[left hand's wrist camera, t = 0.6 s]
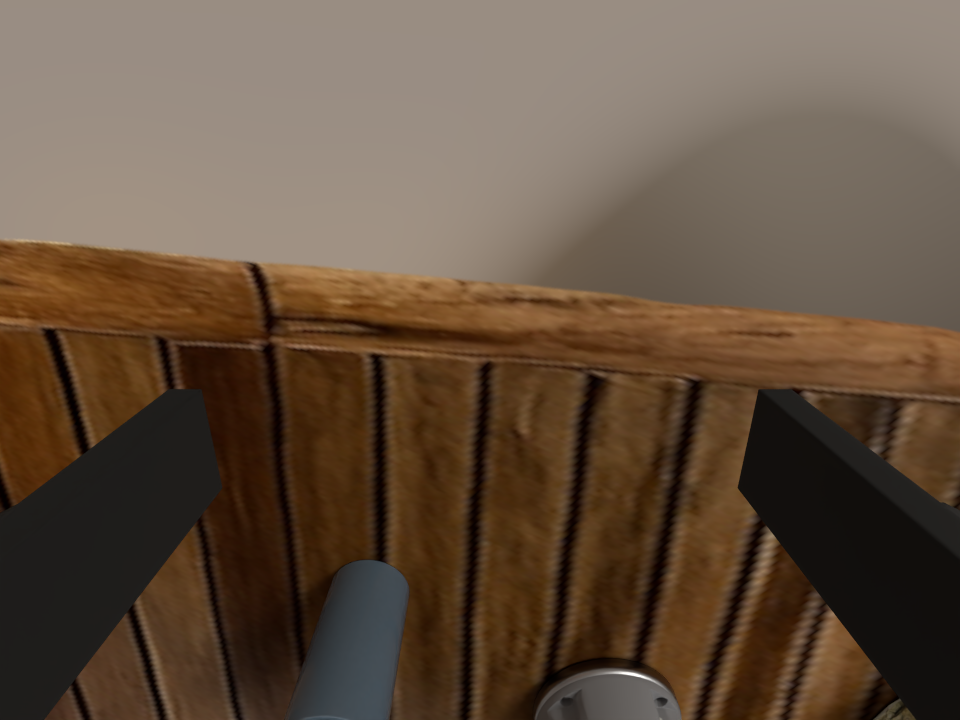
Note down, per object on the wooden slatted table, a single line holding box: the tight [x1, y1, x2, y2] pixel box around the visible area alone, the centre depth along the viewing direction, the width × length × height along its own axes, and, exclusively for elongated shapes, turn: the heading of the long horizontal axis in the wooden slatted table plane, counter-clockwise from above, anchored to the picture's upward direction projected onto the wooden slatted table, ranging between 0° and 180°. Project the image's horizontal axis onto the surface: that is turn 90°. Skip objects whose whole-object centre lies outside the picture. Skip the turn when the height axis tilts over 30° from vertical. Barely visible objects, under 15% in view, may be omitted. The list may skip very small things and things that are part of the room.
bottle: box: [284, 560, 409, 720], centre depth 41 cm, size 8×8×20 cm
